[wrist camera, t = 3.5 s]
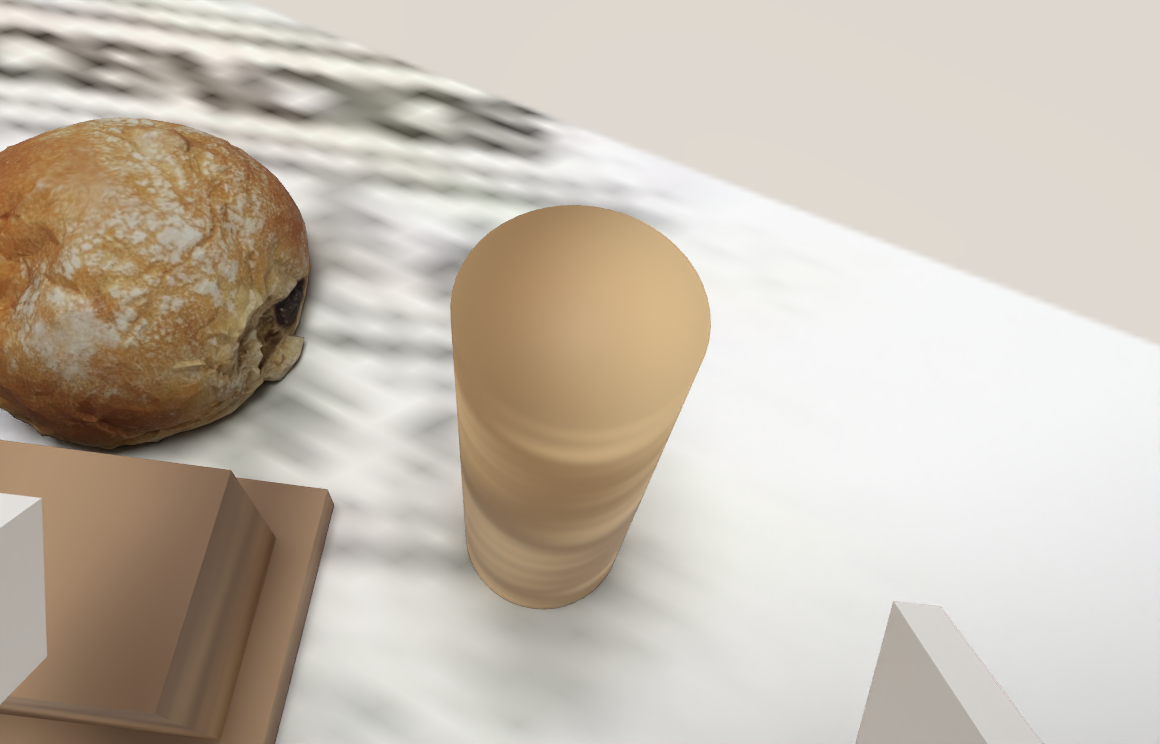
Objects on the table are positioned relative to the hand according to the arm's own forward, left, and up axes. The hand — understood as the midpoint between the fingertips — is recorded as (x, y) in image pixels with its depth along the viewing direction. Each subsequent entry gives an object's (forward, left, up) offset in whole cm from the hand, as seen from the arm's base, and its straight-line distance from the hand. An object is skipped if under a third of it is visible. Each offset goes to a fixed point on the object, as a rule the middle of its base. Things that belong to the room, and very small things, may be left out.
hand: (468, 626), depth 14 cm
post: (-1, -5, -11) cm, 12 cm away
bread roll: (+12, -10, -11) cm, 19 cm away
